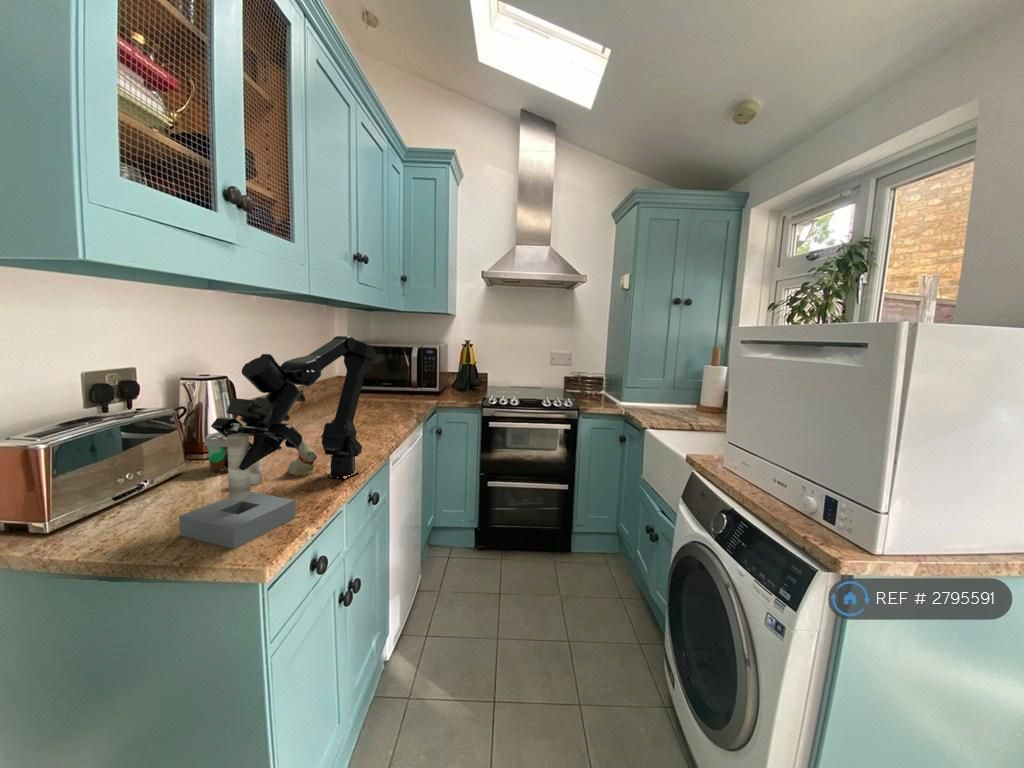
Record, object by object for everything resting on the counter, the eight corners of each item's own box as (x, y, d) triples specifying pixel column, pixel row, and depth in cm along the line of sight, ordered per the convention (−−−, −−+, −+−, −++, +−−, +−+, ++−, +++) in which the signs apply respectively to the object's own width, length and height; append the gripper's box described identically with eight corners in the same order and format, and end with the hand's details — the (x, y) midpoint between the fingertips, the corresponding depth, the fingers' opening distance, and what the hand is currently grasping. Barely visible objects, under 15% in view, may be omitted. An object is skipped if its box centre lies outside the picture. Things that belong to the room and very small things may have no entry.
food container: (202, 466, 116) (200, 433, 115) (227, 462, 120) (226, 430, 119) (208, 477, 107) (207, 442, 106) (235, 473, 112) (234, 438, 111)
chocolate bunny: (300, 478, 110) (299, 443, 109) (284, 472, 114) (284, 438, 113) (318, 473, 114) (318, 439, 113) (303, 467, 118) (302, 435, 117)
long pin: (234, 494, 82) (231, 433, 81) (253, 493, 83) (251, 433, 82) (226, 501, 79) (223, 437, 77) (246, 500, 80) (244, 437, 78)
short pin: (254, 479, 107) (254, 454, 106) (265, 481, 106) (264, 456, 105) (242, 484, 104) (241, 458, 103) (253, 486, 103) (252, 460, 102)
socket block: (246, 507, 90) (246, 490, 90) (295, 517, 86) (295, 500, 86) (180, 535, 77) (179, 516, 76) (234, 548, 73) (233, 528, 72)
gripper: (217, 380, 84) (164, 442, 75) (290, 386, 80) (244, 453, 71) (251, 410, 93) (207, 470, 83) (318, 417, 88) (280, 480, 79)
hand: (232, 468), depth 79 cm, fingers closed on long pin, 4 cm apart
